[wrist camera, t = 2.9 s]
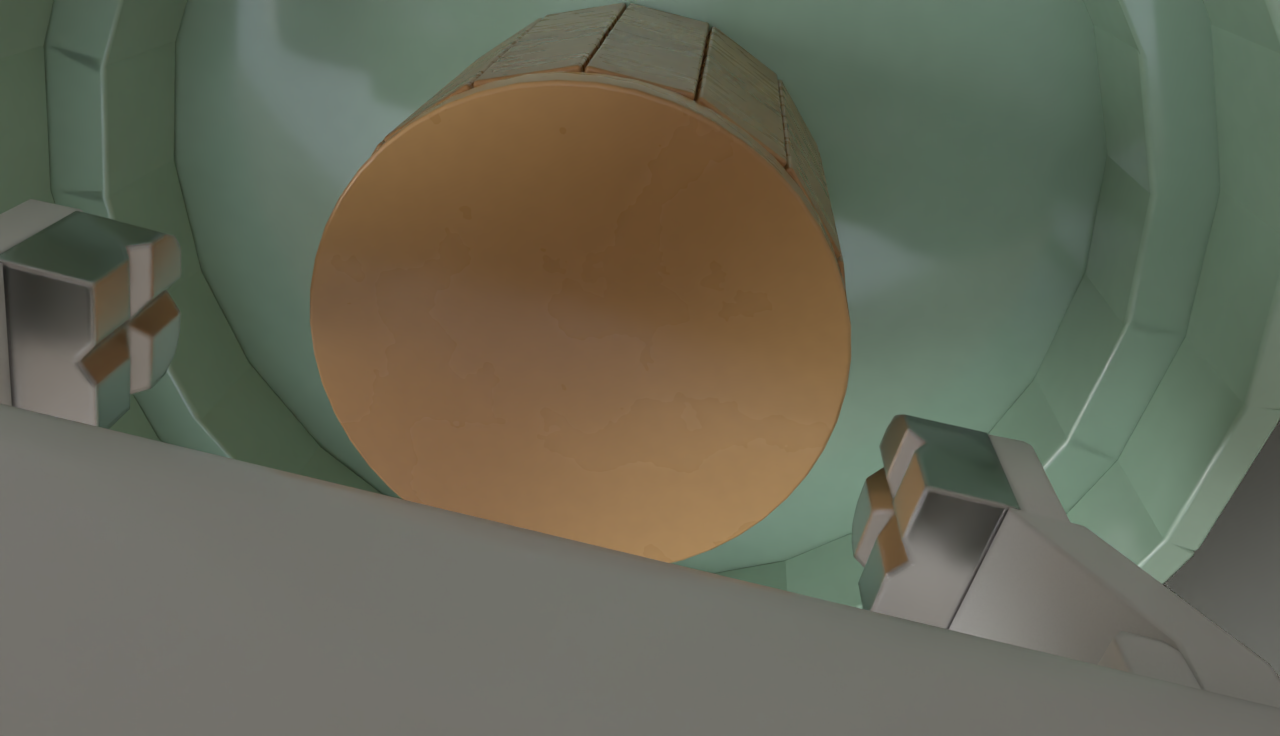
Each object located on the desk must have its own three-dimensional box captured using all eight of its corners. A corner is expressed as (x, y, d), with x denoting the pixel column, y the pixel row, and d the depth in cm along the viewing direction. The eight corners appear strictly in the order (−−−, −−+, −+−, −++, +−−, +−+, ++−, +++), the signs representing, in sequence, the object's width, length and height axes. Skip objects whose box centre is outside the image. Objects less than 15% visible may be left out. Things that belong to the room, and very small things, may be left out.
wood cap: (880, 66, 15) (935, 166, 10) (758, 426, 18) (761, 622, 13) (456, -43, 15) (331, 12, 10) (404, 337, 18) (290, 506, 13)
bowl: (1429, -256, 13) (1730, -294, 9) (938, 694, 21) (982, 896, 17) (100, -617, 12) (-201, -825, 9) (119, 494, 21) (-32, 653, 17)
